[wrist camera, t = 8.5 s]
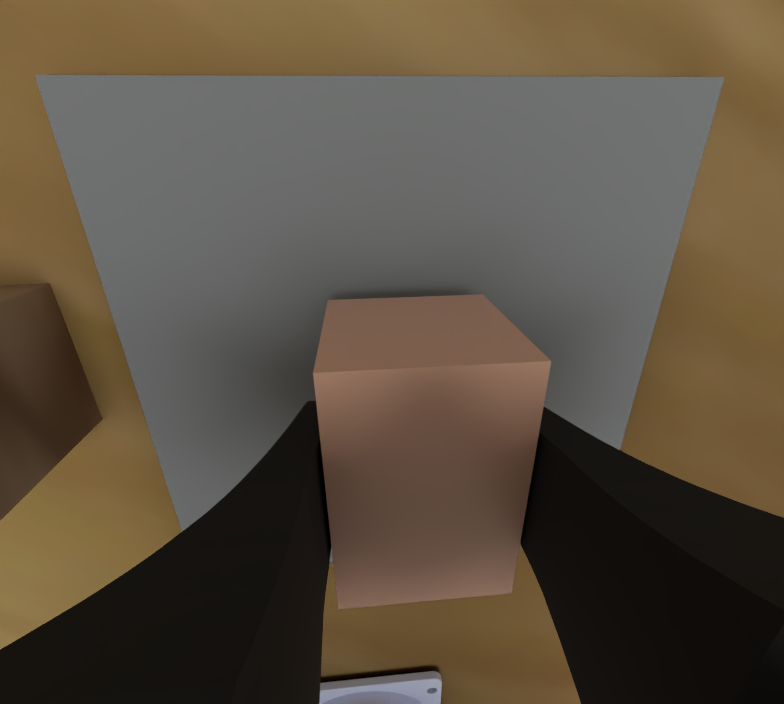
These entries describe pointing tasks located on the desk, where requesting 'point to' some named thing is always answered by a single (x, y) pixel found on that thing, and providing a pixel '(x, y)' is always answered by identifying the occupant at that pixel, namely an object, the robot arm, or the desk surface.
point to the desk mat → (369, 231)
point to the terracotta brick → (426, 445)
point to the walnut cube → (37, 391)
